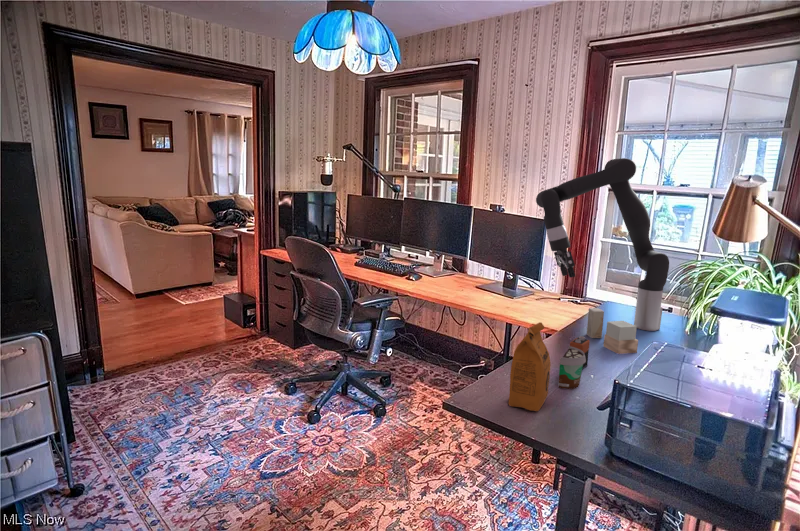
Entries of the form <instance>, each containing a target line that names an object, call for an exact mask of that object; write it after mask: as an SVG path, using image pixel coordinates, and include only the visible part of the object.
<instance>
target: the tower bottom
mask: <svg viewBox="0 0 800 531" xmlns="http://www.w3.org/2000/svg"><path fill="white" fill-rule="evenodd" d="M603 337H604V339H603V348H606V349H608V350H609V351H611V352H614V353H615V354H618V355H622V354H623V355H625V354H635V353H636V354H637V353H638V347H639V339H637V338H635V340H621V341H618V340H616V339H614V338H612V337H610V336H608V335H606V333H604V336H603Z"/></svg>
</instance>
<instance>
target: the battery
mask: <svg viewBox="0 0 800 531" xmlns="http://www.w3.org/2000/svg"><path fill="white" fill-rule="evenodd" d="M569 346H571V347H575V348H578V349H580V350H582V351H583V352H584V354H585V358H586V362H585V363H584V364H583V367H582V370H583V369H584V368H586V367H587V366H588V364H589V363H588V361H589V353H590V352H589V350H590V339H587V338H586V337H585V336H583V335H580V336H578V337H575V338H574V339H573V340H571V341H570V342H569Z"/></svg>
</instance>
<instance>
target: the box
mask: <svg viewBox="0 0 800 531" xmlns="http://www.w3.org/2000/svg"><path fill="white" fill-rule="evenodd" d="M604 316H605V311H604V310H602V309H601V308H598V307H597V308H596V307H590V308H588V315H587V324H586V335H587V337H589V338H591V339H602V338H603V328H604Z"/></svg>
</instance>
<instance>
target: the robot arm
mask: <svg viewBox="0 0 800 531" xmlns="http://www.w3.org/2000/svg"><path fill="white" fill-rule="evenodd" d="M603 168H604V169H602V170H599V171H596V172H593V173H589V174H586V175H581V176H578V177H574V178H573V179H570V180H568V181H565V182H563V183H561V184H558V185H556V186H554V187H551V188H550V187H549V188H547V189H545V190H542V191H540V192H539V193H538V194H537V195H536V197H535V202H536V204H537V206H538V207H540V208H543V212H544V216H543V224H544V226H545V230H546V236H547V239H548V244H549V247H550V251H551V252H553V255H554V259H555V262H556V265H557V266H558V267H559V269H560V272H561V275H562V277H565V276H568V277H569V278H570V279H571V278H574V277H576V273H575V270H574V267H575V262H574V258H573V255H572V251H571V250H570V251H569V250H568V248H570V247H571V244H570V243H571V242H570V239H569V235H568V232H567V229H566V226H565V223H564V220H563V216H562V213H561V211H562V210H561V203H562V202H563V201H568V200H570V199H573V198H577V197H579V196H581V195H583V194H586V193H589V192H592V191H594V190H597V189H599V188H602V187H606V186H608V185H609V186H610V189H611V190H612V192H613V195H614V197H615V201H616V203H617V205H618V208H619V210H620V214H621V216H622V220H623V222H624V226H625V228H626V230H627V233H628V235H629V238H630V240H631V243H632V247H633V250H634V253H635V259H636V264H637V265H638V267H639V268H640V269H641V270H642V271H644V272H646V274H645V278H644V279H641V280H639V282H638V288H637V297H636V303H635V314H634V321H633V323H634V324H633V325H635V326H637V329H638V330H643V331H648V332H649V331H650V332H651V331H652V332H656V331H658V330H661V325H662V324H661V322H662V315H663V309H664V308H663V307H662V300H663V292H664V287H665V285H666V283H667V279H668V275H669V269H670V259H669V257H668V256H667V254H665V253H663V252H659V251H656V250H655V249H654V247H653V245H652V242H651V240H650V230H651V219H650V216H649V213H648V210H647V207H646V205H645V204H644V202H643V201H642V200H641V198H640V197H639V196H638V195H637V193H636V192H635V191H634V190H633V188H632V186H631V183H630V181H629V180H631V179H632V178H633V177H634V176H635V174H636V172H637V165H636V163H635V162H634V161H633V160H632V159H630V158H628V157H627V158H626V157H623V158H622V157H621V158H613V159H610V160H608V161H607V162H606V164H605V165H604V167H603Z"/></svg>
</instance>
